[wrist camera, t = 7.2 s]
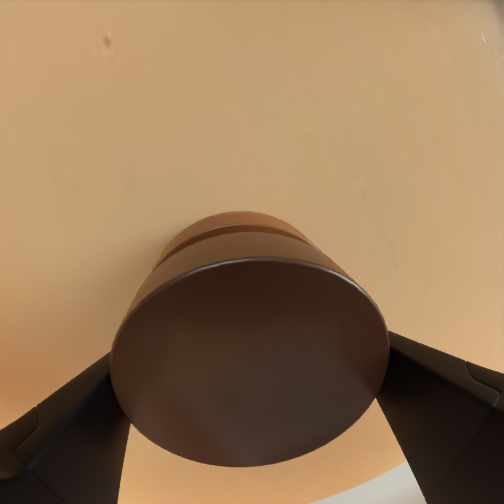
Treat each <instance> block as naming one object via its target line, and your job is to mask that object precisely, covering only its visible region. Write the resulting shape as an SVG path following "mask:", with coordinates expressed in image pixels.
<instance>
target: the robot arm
mask: <svg viewBox="0 0 504 504" xmlns="http://www.w3.org/2000/svg"><path fill="white" fill-rule="evenodd" d="M388 335H389V344H390V355H389V364H388V368H387V373H386V376H385V379H384V381H383V384H382V386H381V388H380V390H379V392H378V394H377V396H376V399H377V401H378V403H379V405H380V407H381V409H382V411H383V413H384V415H385V417H386V419H387V421H388V423H389V425H390V427H391V429H392V431H393V433H394V435H395V437H396V439H397V441H398V443H399V445H400V447H401V449H402V451H403V453H404V455H405V457H406V459H407V461H408V463H409V466H410V468H411V470H412V472H413V474H414V476H415V478H416V480H417V482H418V485H419V487H420V489H421V491H422V493H423V496H424V497H425V501H426V503H427V504H504V374H503V373H500V372H497V371H493V370H490V369H487V368H484V367H481V366H479V365H476V364H473V363H470V362H468V361H466V362H465V360H462V359H460V358H457V357H455V356H452V355H449V354H447V353H444V352H442V351H439V350H436V349H434V348H431V347H429V346H426V345H424V344H421V343H418V342H416V341H413V340H411V339H408V338H406V337H403V336H401V335H398V334H396V333H393V332H391V331H388ZM110 354H111V351H110V352H109V353H108V354H106V355H105V356H103V357H102V358H101V359H99V360H98V361H97V362H95V363H94V364H93V365H91V366H90V367H88V368H87V369H86V370H84V371H83V372H82V373H80V374H79V375H78V376H76V377H75V378H73V379H72V380H71V381H69V382H68V383H67V384H65V385H64V386H63V387H61V388H60V389H58V390H57V391H56V392H54V393H53V394H52V395H50V396H49V397H48V398H46V399H45V400H43V401H42V402H41V403H39V404H38V405H37V407H34V408H33V409H31V410H30V411H28V412H27V413H26V414H24V415H23V416H21V417H20V418H19V419H17V420H16V421H14V422H13V423H11V424H9V425H8V426H6V427H5V428H3V429H1V430H0V504H117V502H118V495H119V488H120V481H121V474H122V468H123V462H124V456H125V451H126V445H127V440H128V434H129V429H130V424H131V422H130V421H129V420H128V418H127V417H126V416H125V414H124V413H123V411H122V410H121V408H120V406H119V404H118V402H117V400H116V397H115V395H114V392H113V389H112V385H111V379H110V372H109V369H110Z"/></svg>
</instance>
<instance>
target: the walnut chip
mask: <svg viewBox="0 0 504 504" xmlns="http://www.w3.org/2000/svg"><path fill="white" fill-rule="evenodd" d="M389 355H390V344H389V335H388V330H387V327H386V324H385V320H384V318H383V316H382V314H381V312H380V310H379V308H378V306H377V305H376V303H375V302H374V301H373V300H372V298H371V297H370V296H369V295H368V293H367V292H366V291H365V290H364V289H363V288H361V287H360V286H359V285H358V284H357V283H356V282H355V281H354V280H353V279H352V278H351V277H350V276H349V275H348V274H347V273H346V272H345V271H343V270H342V269H341V268H340V267H339V266H338V265H337V264H336V263H335V262H334V261H332V260H331V259H330V258H329V257H328V256H327V255H325V254H324V253H322V252H321V251H319V250H317V249H316V248H314V247H312V246H310V245H308V244H306V243H303V242H301V241H299V240H297V239H293V238H289V237H286V236H282V235H278V234H270V233H263V232H240V233H232V234H224V235H220V236H216V237H212V238H208V239H205V240H202V241H200V242H197V243H195V244H193V245H190V246H188V247H186V248H184V249H182V250H181V251H179V252H177V253H176V254H174V255H172V256H171V257H169V258H168V259H167V260H166V261H164V262H163V263H162V264H161V265H159V266H158V267H157V268H156V269H155V270H154V271H153V272H152V274H151V275H150V276H149V277H148V278H147V279H146V280H145V282H144V283H143V285H142V286H141V288H140V289H139V291H138V293H137V294H136V296H135V298H134V300H133V302H132V304H131V306H130V308H129V310H128V312H127V313H126V315H125V317H124V319H123V321H122V323H121V325H120V327H119V329H118V332H117V334H116V337H115V339H114V341H113V345H112V349H111V354H110V369H109V372H110V379H111V385H112V389H113V392H114V395H115V397H116V400H117V402H118V404H119V406H120V408H121V410H122V411H123V413H124V414H125V416H126V417H127V418H128V420H129V421H130V422H131V423H132V425H133V426H134V427H135V428H136V429H137V430H138V431H139V432H140V433H142V434H143V435H144V436H145V437H147V438H148V439H149V440H150V441H152V442H153V443H155V444H156V445H158V446H160V447H161V448H163V449H165V450H167V451H169V452H171V453H173V454H175V455H178V456H180V457H183V458H186V459H188V460H192V461H196V462H199V463H204V464H209V465H215V466H224V467H254V466H263V465H270V464H275V463H279V462H283V461H287V460H291V459H294V458H297V457H300V456H302V455H305V454H307V453H310V452H312V451H314V450H316V449H318V448H320V447H322V446H324V445H326V444H327V443H329V442H331V441H332V440H334V439H335V438H337V437H338V436H340V435H341V434H342V433H343V432H345V431H346V430H347V429H349V428H350V427H351V426H352V425H353V424H354V423H355V422H356V421H357V420H358V419H359V418H360V417H361V416H362V415H363V414H364V413H365V411H366V410H367V409H368V408H369V406H370V405H371V403H372V402H373V401H374V399H375V398H376V396H377V394H378V392H379V390H380V388H381V386H382V384H383V381H384V379H385V376H386V373H387V368H388V364H389Z"/></svg>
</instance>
